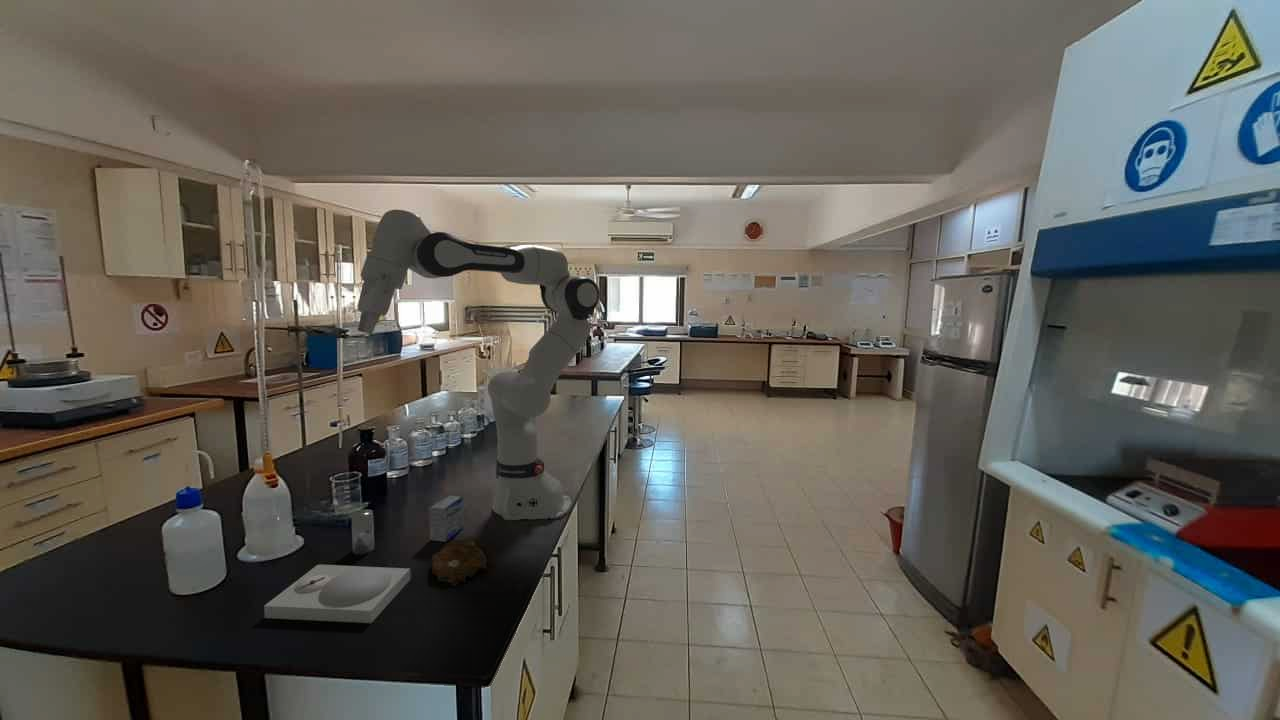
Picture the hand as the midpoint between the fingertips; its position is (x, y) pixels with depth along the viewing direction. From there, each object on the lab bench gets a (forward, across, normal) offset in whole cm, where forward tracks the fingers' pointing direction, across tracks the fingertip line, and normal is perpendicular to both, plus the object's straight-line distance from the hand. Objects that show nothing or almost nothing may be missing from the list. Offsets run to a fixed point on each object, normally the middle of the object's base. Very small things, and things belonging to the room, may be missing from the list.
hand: (364, 332), depth 109 cm
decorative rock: (+45, -20, -30) cm, 58 cm away
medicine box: (+44, -3, -32) cm, 54 cm away
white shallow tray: (+52, -19, -9) cm, 56 cm away
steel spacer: (+49, 0, -14) cm, 51 cm away
